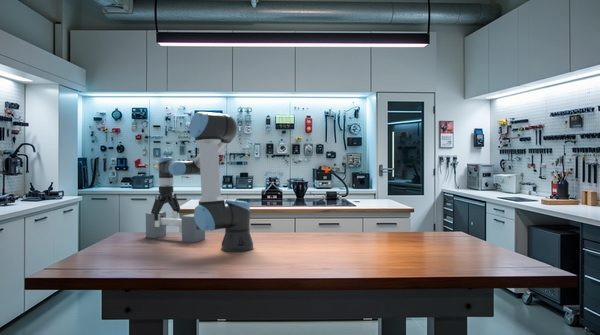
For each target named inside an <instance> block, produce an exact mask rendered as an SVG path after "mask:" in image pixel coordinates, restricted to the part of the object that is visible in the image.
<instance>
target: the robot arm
mask: <svg viewBox="0 0 600 335" xmlns="http://www.w3.org/2000/svg"><path fill="white" fill-rule="evenodd" d="M188 125H189V126H188V129H189V130H188V131H189V134H190V137H192V138H194V142H195V143H196V144H197V145H198V154H197V156H196V157H194V159H193V160H174V158H173V157H172V156H168V157H167V156H163V157H161V156H160V157H159V158H158V164H157V165H158V185H159V186H158V193H159V194H160V195H155V199H154V202H153V205H152V208H151V214H154V220H155V227H160V214H159V212H161V210H162V209H163V207H164V205H166V204H167V203H168V205H169V206H170V208H171V209H172V210H173V211H171V218H174V219H178V212H179V211H180V210H181V207H180V204H179V201H178V197H177V193H174V177H175V176H176V177H178V176H200V190H201V198H200V199H199V200H198V205H196V206H195V207H194V210H193V214H194V219H195V222H196V224H197V226H198V227H199V228H200V229H201V230H203V231H205V232H206V231H210V232H211V231H215V230H222V229H223V230H224V229H225V230H224V234H223V238H222V241H221V250H222V251H226V252H231V253H232V252H235V253H236V252H237V253H238V252H246V251H251V250H253V249H254V242H253V238H252V235H251V229H250V228H251V226H250V223H251V221H250V218H251V217H250V216H251V214H250V213H251V209H250V203H249V202H248V201H246V200H245V201H244V200H237V199H236V200H235V199H224V198H223V197H222V195H221V194H222V192H221V178H220V176H221V175H220V173H221V172H220V160H219V159H220V158H219V153H220V152H221V151H222V150H223V148H225V146H226V145H227V144H230V143H232V142H233V140H234V138H235V137H236V135H237V133H238V125H237V122H236V120H235V119H234V118H233V117H232V116H231V115H229V114H227V113H219V112H218V113H217V112H209V111H198V112H196V113H194V114H193V115H192V117H191V119H190V121H189V124H188Z"/></svg>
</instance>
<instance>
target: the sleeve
mask: <svg viewBox="0 0 600 335" xmlns="http://www.w3.org/2000/svg"><path fill="white" fill-rule="evenodd" d="M181 219H182V227H181V241H182V242H188V243H197V242H200V241H204V240H205V239H206V231H203V230H201V229H200V228H199V227H198V226H197V224H196V222H195V219H194V213H191V214H185V215H181Z"/></svg>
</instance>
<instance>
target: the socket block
mask: <svg viewBox="0 0 600 335" xmlns="http://www.w3.org/2000/svg"><path fill="white" fill-rule="evenodd" d="M159 214H160V217H161V218H167V212H166V211H160V212H159ZM166 235H167V225H160V227H155V220H154V214H151V212H147V213H146V212H145V237H146V238H147V239H157V238H160V237H164V236H166Z"/></svg>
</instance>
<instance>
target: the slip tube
mask: <svg viewBox="0 0 600 335" xmlns="http://www.w3.org/2000/svg"><path fill="white" fill-rule="evenodd" d="M160 225H166V227H167V226H169V227H170V226H171V227H181V228H182V218H177V219H174V218H172V217H171V218H170V217H166V218H161V217H160Z"/></svg>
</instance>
